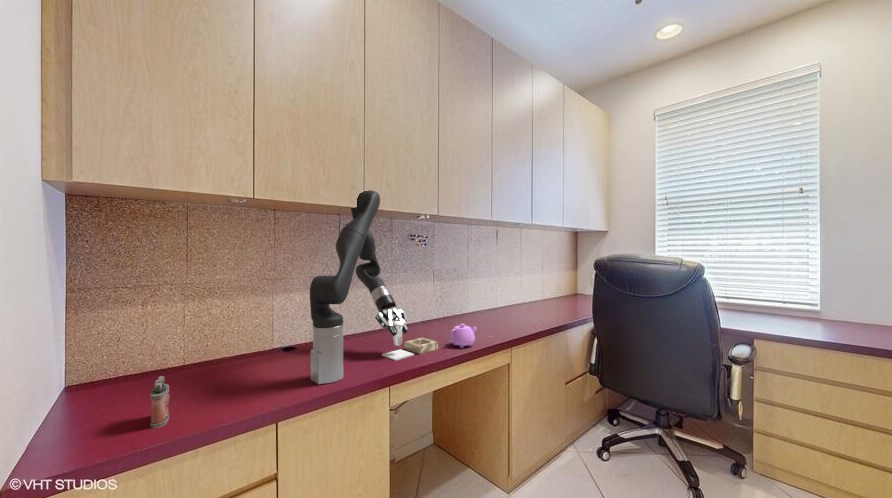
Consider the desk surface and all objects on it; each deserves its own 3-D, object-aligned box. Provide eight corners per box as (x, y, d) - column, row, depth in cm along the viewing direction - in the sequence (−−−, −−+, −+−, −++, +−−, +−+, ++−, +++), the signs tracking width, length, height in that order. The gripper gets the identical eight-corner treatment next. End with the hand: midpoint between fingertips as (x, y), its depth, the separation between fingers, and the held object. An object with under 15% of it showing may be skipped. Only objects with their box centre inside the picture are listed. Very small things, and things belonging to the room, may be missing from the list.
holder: (419, 354, 131) (419, 346, 131) (404, 349, 138) (404, 342, 138) (438, 348, 138) (437, 341, 138) (422, 344, 145) (422, 337, 145)
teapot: (443, 345, 143) (443, 324, 143) (469, 339, 152) (469, 319, 152) (458, 351, 135) (457, 328, 135) (484, 344, 144) (484, 323, 144)
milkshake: (406, 343, 132) (407, 318, 132) (399, 346, 127) (400, 320, 127) (396, 341, 133) (397, 317, 134) (389, 344, 129) (390, 319, 129)
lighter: (167, 425, 78) (167, 383, 78) (148, 429, 76) (148, 386, 76) (170, 412, 85) (170, 373, 85) (153, 415, 83) (153, 376, 83)
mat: (395, 360, 123) (395, 359, 123) (382, 355, 130) (381, 354, 130) (414, 355, 130) (414, 353, 130) (400, 350, 136) (400, 349, 136)
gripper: (371, 295, 130) (389, 331, 122) (400, 292, 140) (419, 324, 132) (364, 307, 134) (381, 342, 125) (393, 303, 144) (411, 335, 135)
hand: (400, 333), depth 129 cm, fingers closed on milkshake, 4 cm apart
